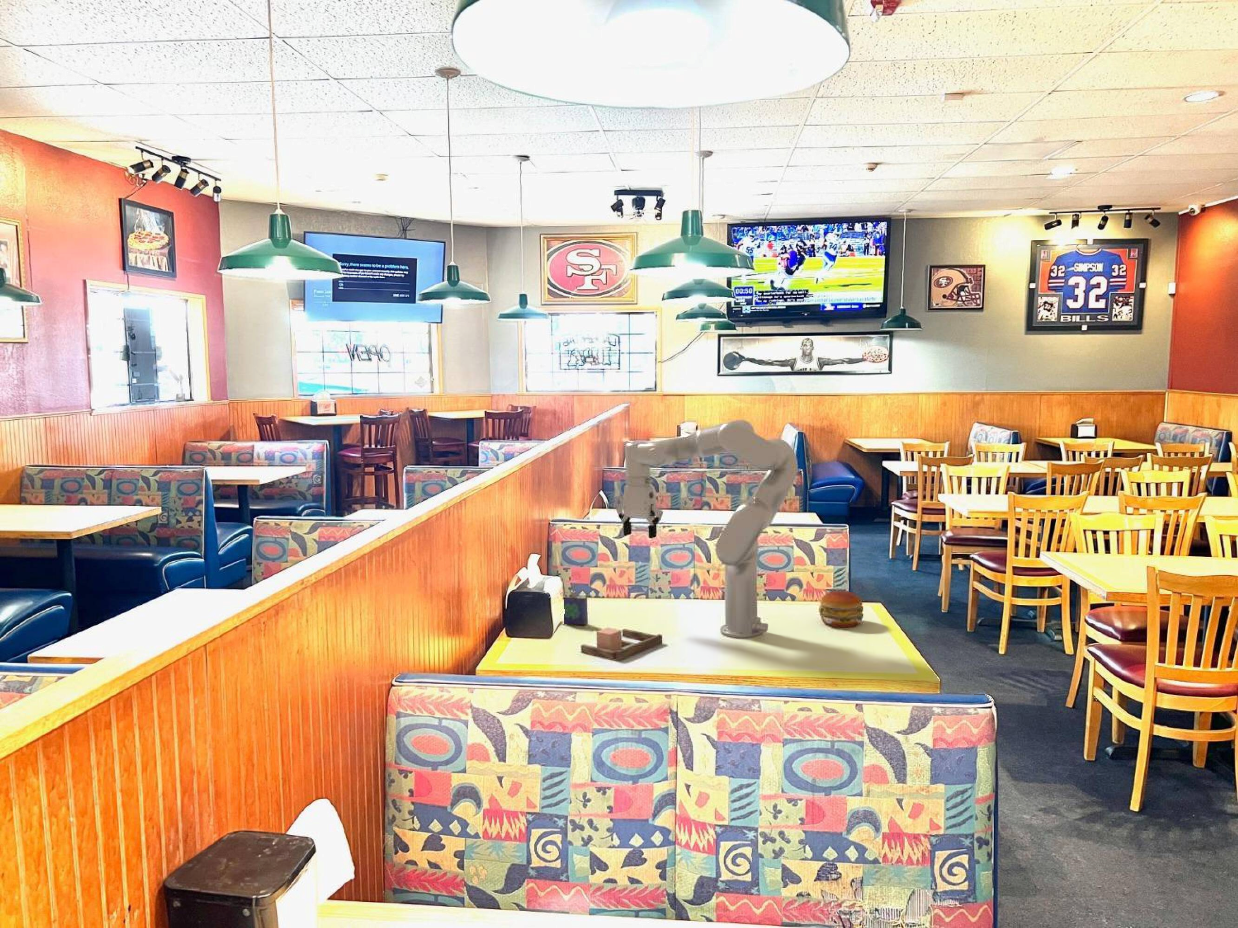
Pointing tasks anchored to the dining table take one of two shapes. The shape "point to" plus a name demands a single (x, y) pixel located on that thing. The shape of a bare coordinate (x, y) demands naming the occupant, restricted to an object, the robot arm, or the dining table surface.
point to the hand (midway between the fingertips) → (640, 536)
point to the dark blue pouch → (575, 610)
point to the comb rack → (626, 646)
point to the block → (609, 639)
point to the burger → (841, 609)
